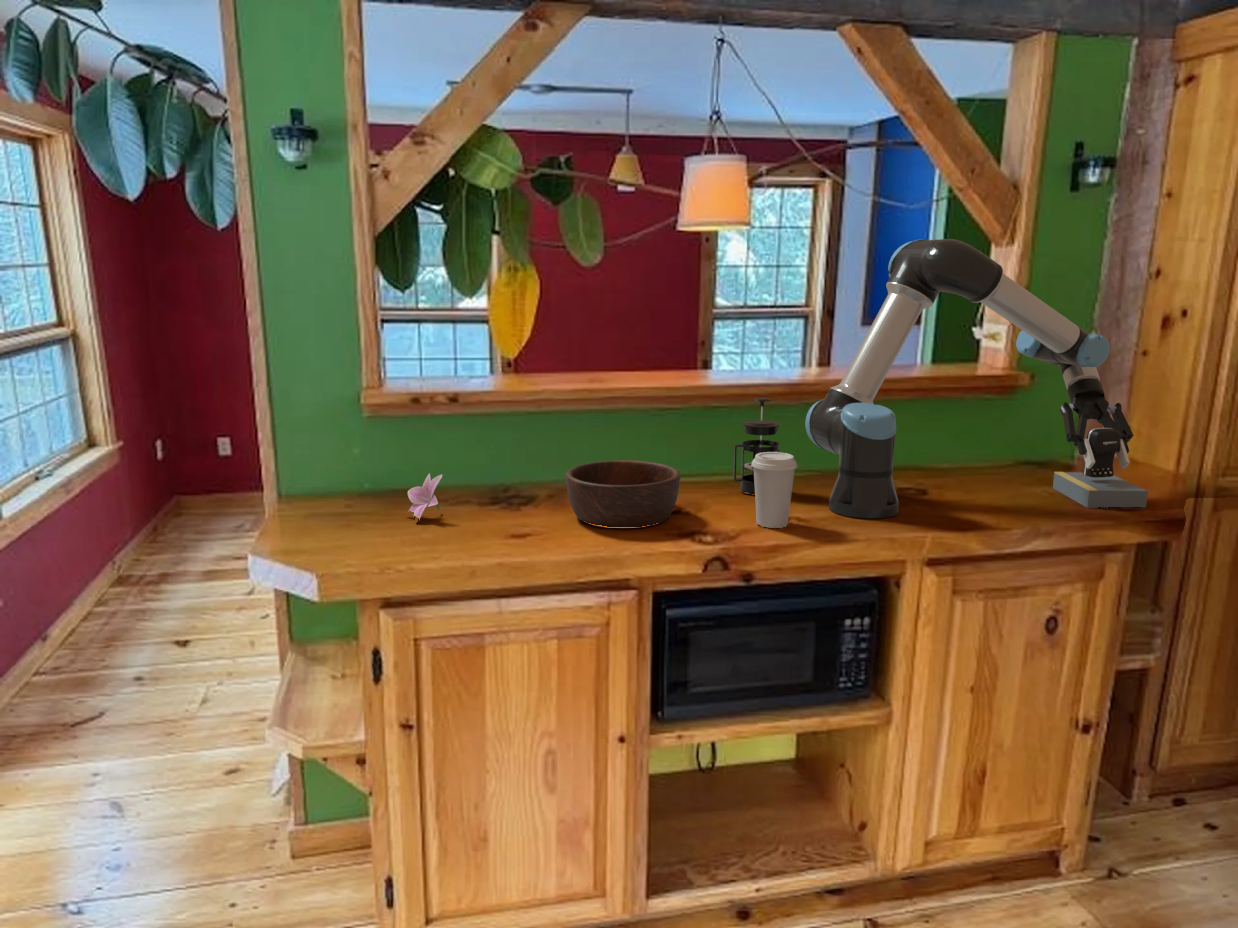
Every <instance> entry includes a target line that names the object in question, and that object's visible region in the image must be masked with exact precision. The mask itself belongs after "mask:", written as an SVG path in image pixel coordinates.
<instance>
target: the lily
mask: <svg viewBox="0 0 1238 928" xmlns="http://www.w3.org/2000/svg"><path fill="white" fill-rule="evenodd" d="M442 477H443V474H439V475H437V476H435V477H434V478H432V479H431V473H428V474H427V476H426V477H425V480H424V482H423V483H422V486H420V485H419V486H418V485H417V486H414V487H412V488H409V490H407V496H408V499H409V501H410V502H411V503H412V505H411V506H410V508H409V509H408V512H409V511H411V512H414V514H413V517H414V516H416V517H417V518H419V520H420V519H421V516H422V515H423V512H424V511H425V509H426V508H427V507H428V508H429V507H433V506H436V508H437V509H438V510H441V508H440V507H439V506H438V504H439V501H438V499H437V497H436V495H435V494H434V492H435V490H436V488H437V486H438V484H439V483H440V481H441V479H442Z"/></svg>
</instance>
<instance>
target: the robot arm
mask: <svg viewBox="0 0 1238 928" xmlns="http://www.w3.org/2000/svg"><path fill="white" fill-rule="evenodd" d="M887 267H888V268H887V271H888V280H887V282H886V285H885V286H886V290H887V296H886V298H885V299H884V301H883V303H882V305H881V307H880V309H879V311H878V313H876V316H875V318H874V320H873V322H872V323H871V325H870V327H869V329H868V331H867V333H866V335H865V336H864V338H863V340H862V342H861V344H860V346H859V348H858V350H857V352H856V353H855V355H854V357H853V359H852V360H851V363H850V365H849V366H848V368H847V370H846V372H845V374H844V376H843V378H842V379H841V381H840V383H839V384H836V385H835V386H830V388H829V390H827V393H826V395H825V397H824V399H821V400H819V401H817V402H815V403H813V404H812V406H810V408H809V409H808V411H807V413H806V417H805V423H804V424H805V430H806V434H807V436H808V438H809V440H810V441H811V442H812V443H813V444H814V445H816V446H818V448H820V449H822V450H824V451H825V452H830V453H833V454H834V455H838V456H839V458H838V459H839V460H838V462H839V463H838V476H837V478H836V480H835V483H834V485H833V488H832V491H831V493H830V496H829V501H828V502H829V503H828V509H829V510H830V511H831V512H833V513H835V514H838V515H842V516H845V517H851V518H858V519H885V518H890V517H894V516H896V515H897V514H898V513H899V506H900V502H899V499H898V495H897V491H896V487H895V484H894V483H895V482H894V480H893V472H894V471H893V470H894V458H895V457H894V455H895V441H896V433H897V420H896V414H895V413H894V411H893V410H891V409H890V408H889V407H886V406H883V405H881V404H875V403H874V399H875V397H876V396H877V394H878V392H879V390H880V388H881V386H882V384H883V383H884V380H885V379H886V378H887V376H888V374H889V371H890V370H891V368H892V366H893V365H894V363H895V360H896V359H897V357H898V355H899V353H900V351H901V350H902V348H903V345H904V344H905V342H906V340H907V338H908V337H909V335H910V333H911V331H912V329H913V327H914V326H915V325H916V322H917V321H918V318H919V316H920V314H921V313H922V311H924V309H928V308H932V306H933V305H934V303H935V301H936V299H937V297H938V295H939V294H940V293H949V294H955V295H957V296H961V297H962V298H965V299H967V300H968V301H970V302H971V303H975V304H976V303H977V304H978V303H981V304H983V305H984V306H985V307H987V308H989V310H992V311H993V312H995V313H996V314H997V315H999V316H1000V317H1002V318H1003V319H1005V320H1006V321H1008V322H1009V323H1010V324H1012V325H1014V327H1017V328H1019V329H1020V332H1019V334H1018V336H1017V339H1016V342H1015V344H1016V345H1015V346H1016V349H1017V351H1018V353H1019V354H1021V355H1024V356H1026V357H1027V358H1032V359H1034V360H1039V361H1042V362H1045V363H1047V364H1050V365H1051V364H1052V365H1054V366H1058V367H1059V369H1060V372H1061V374H1062V378H1063V382H1064V384H1065V387H1066V390H1067V395H1068V399H1069V402H1070V403H1068V402H1066V401H1065V402H1064V403H1063V404H1062V405H1061V407H1060V409H1059V411H1060V413H1061V415H1062V417H1063V424H1064V425H1063V426H1064V432H1065V439H1066V441H1067V442H1068V443H1071V442H1072V443H1073V445H1074V446H1075V447H1077V450H1078V454H1079V455H1082V456H1083V459H1084V462H1085V463H1086V466H1087V469H1091V467H1092V466H1093V465H1094V464H1095V460H1094V456H1093V453H1092V450H1091V446H1090V443H1089V440H1088V439H1087V438H1085V435H1086V430H1087V422H1088V420H1096V421H1097V422H1098V423H1099V424H1101V425H1102V426H1103V428H1112V429H1114V430H1117V431H1119V433H1120V435H1121V441H1120V450H1119V452H1115V454H1116V455H1117V459H1118V461H1119V465H1120V469H1121V470H1126V468H1127V467H1128V466H1129V465H1130V463H1131V460H1130V458H1129V455H1128V454H1129V453H1130V448H1129V445H1128V443H1129V442H1130V441H1131V439H1132V438H1134V433H1133V431H1132V429H1131V426H1130V424H1129V423H1128V421H1127V419H1126V417H1125V415H1124V413H1123V411H1122V409H1123V407H1122V404H1121V403H1120V402H1116V403H1115V404H1113V403H1109V401H1108V400H1107V399H1106V396H1105V395H1106V394H1105V390H1104V388H1103V385H1102V382H1101V378H1100V376H1099V375H1100V374H1099V373H1098V370H1097V367H1099V366H1100V365H1103V364H1104V363H1105V361H1106V360H1107V358H1108V356H1109V354H1110V350H1111V349H1110V348H1111V347H1110V343H1109V340H1108V339H1107V338H1106V337H1105V336H1103V335H1101V334H1097V333H1093V332H1092V333H1089V332H1088V331H1085V329H1083V328H1081V327H1080V326H1078V325H1076V324H1075V323H1074V322H1072V321H1071V320H1069V318H1067V317H1065V316H1064V315H1063V314H1061V313H1060V312H1059V311H1057V310H1055V308H1052V306H1050V305H1048V304H1047V303H1046V302H1044V301H1043V300H1041V299H1040V298H1038V297H1037V296H1036V295H1034V294H1033V293H1031V292H1030V291H1029V290H1027V289H1026V288H1024V287H1023V286H1022V285H1020V284H1019V283H1017V281H1014V280H1013V279H1012V278H1010V277H1009V276H1007V275H1006V274H1005V273H1004V269H1003V267H1002V265H1001V264H999V263H997V261H995V260H994V259H992V258H991V257H989V256H988V255H987V254H984V253H983V252H982V251H980V250H979V249H977V248H975V247H974V246H972V245H970V244H969V243H967V242H964V241H962V240H959V239H954V238H943V239H942V238H941V239H927V238H926V239H925V238H921V239H916V240H912V241H908V242H906V243H904V244H902V245H901V246H899V247H898V248H897V249H896V250H895V251H894V252H893V254H892V255H891V257H890V260H889V262H888V266H887ZM1073 411H1074V412H1075V413H1076V414H1077V415H1078V417H1077V427H1075V420H1074V419H1075V418H1074V413H1073Z"/></svg>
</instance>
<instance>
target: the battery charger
mask: <svg viewBox="0 0 1238 928" xmlns="http://www.w3.org/2000/svg"><path fill="white" fill-rule="evenodd" d="M1086 439H1088V440H1089V443H1090V446H1091V450H1092V453H1093V456H1094V460H1095V464H1094V465H1093V466H1092V467H1091V469H1087V466H1086V463H1085V461H1084V462H1083V463H1084V464H1083V472H1082V473H1083V475H1085V476H1089V477H1095V478H1098V477H1111V476H1113V475H1115V473H1114V459H1115V454H1116V452H1119V450H1120V441H1121V435H1120V433H1119V431H1117V430H1114V429H1112V428H1104V427H1097V428H1091V429H1090V430H1089V431H1088V432H1087V436H1086Z"/></svg>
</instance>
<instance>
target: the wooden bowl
mask: <svg viewBox="0 0 1238 928" xmlns="http://www.w3.org/2000/svg"><path fill="white" fill-rule="evenodd" d="M565 483H566V491H567V496H568V500H569V503H570V506H571V508H572V510H573V513H574V514H575V516H576V517H577V518H578V519H579V520H580V521H581V520H582V521H585V522H587V523H591V524H595V525H602V526H607V527H642V526H647V525H653V524H656V523H660V522H662V521H664V520H665V521H667V520H668V518H670V515H671V514H672V512H673V510H674V509H675V505H676V503H677V499H678V495H679V491H680V490H679V489H680V483H681V472H680V471H679V470H678V469H677V468H675V467H674V466H671V465H668V464H664V463H660V462H653V461H647V460H646V461H645V460H631V459H629V460H628V459H626V460H625V459H624V460H621V459H620V460H618V459H617V460H602V461H595V462H594V461H593V462H587V463H583V464H579V465H576V466H574V467H572V468H570V469H568V470H567V471H566V473H565ZM582 521H581V522H582ZM665 521H664V522H665ZM662 523H663V522H662ZM660 524H661V523H660Z"/></svg>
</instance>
